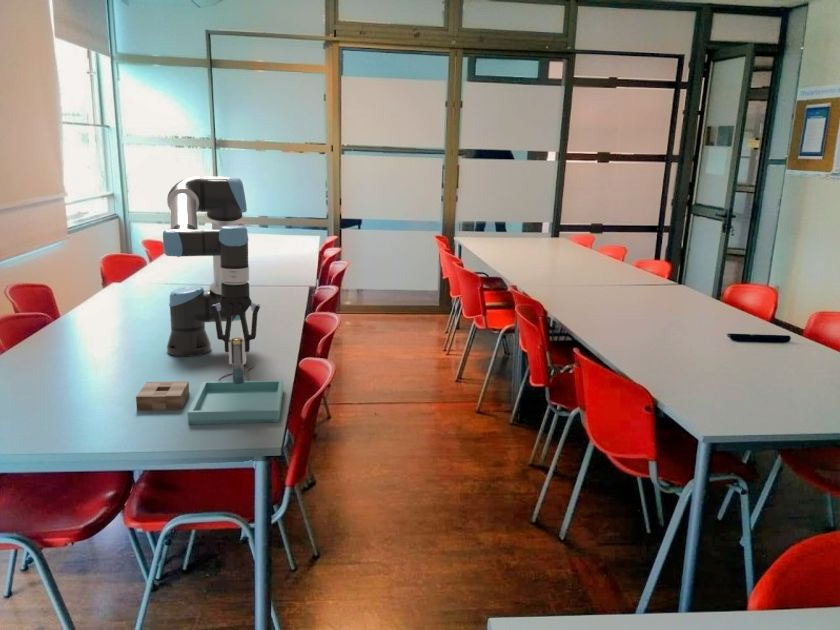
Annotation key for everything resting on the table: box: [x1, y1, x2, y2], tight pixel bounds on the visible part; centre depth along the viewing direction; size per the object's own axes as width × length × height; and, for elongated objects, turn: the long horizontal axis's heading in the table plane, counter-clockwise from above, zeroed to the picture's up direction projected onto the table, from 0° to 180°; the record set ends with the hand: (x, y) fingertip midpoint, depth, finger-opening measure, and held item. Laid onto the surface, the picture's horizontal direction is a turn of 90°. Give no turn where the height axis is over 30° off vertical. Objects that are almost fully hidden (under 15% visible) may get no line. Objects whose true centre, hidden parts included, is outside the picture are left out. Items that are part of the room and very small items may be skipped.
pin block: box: [135, 380, 190, 411], centre depth 189 cm, size 12×12×4 cm
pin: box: [231, 337, 245, 384], centre depth 184 cm, size 3×3×13 cm
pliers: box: [217, 362, 256, 381], centre depth 215 cm, size 10×1×20 cm
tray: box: [187, 379, 284, 425], centre depth 187 cm, size 24×24×4 cm
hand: (237, 362), depth 184 cm, fingers closed on pin, 3 cm apart
